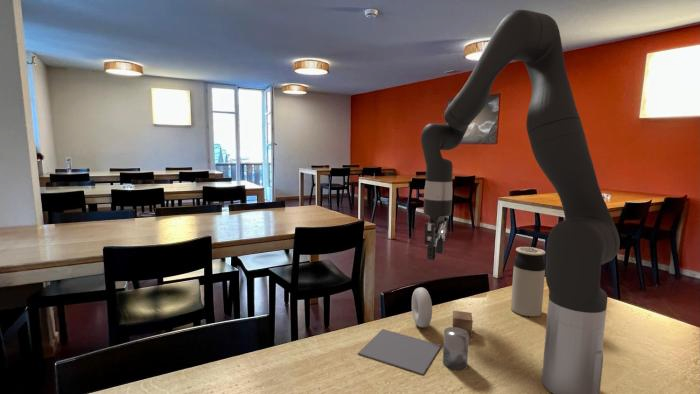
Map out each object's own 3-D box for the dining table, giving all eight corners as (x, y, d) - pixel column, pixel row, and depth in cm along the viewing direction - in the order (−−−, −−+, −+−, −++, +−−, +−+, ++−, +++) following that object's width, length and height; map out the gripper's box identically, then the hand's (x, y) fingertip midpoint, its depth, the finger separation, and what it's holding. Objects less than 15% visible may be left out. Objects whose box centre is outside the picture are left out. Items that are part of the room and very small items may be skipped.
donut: (433, 334, 91) (435, 295, 90) (419, 335, 91) (421, 296, 89) (421, 316, 101) (423, 281, 100) (409, 317, 100) (410, 281, 99)
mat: (441, 346, 86) (441, 345, 86) (423, 375, 74) (423, 373, 74) (382, 330, 93) (382, 328, 93) (357, 354, 82) (357, 352, 82)
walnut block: (470, 329, 94) (471, 312, 94) (471, 337, 90) (472, 320, 89) (452, 327, 95) (453, 310, 95) (452, 335, 91) (453, 318, 90)
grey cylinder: (469, 361, 80) (471, 330, 79) (464, 373, 75) (465, 341, 74) (446, 354, 82) (447, 325, 81) (439, 366, 78) (441, 334, 77)
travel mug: (512, 315, 103) (517, 252, 100) (509, 304, 110) (513, 245, 108) (544, 319, 100) (549, 255, 98) (538, 307, 108) (543, 247, 106)
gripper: (444, 201, 93) (441, 265, 95) (458, 195, 106) (455, 252, 108) (416, 199, 97) (413, 260, 99) (432, 194, 109) (429, 248, 111)
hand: (435, 255), depth 103 cm, fingers open, 7 cm apart
